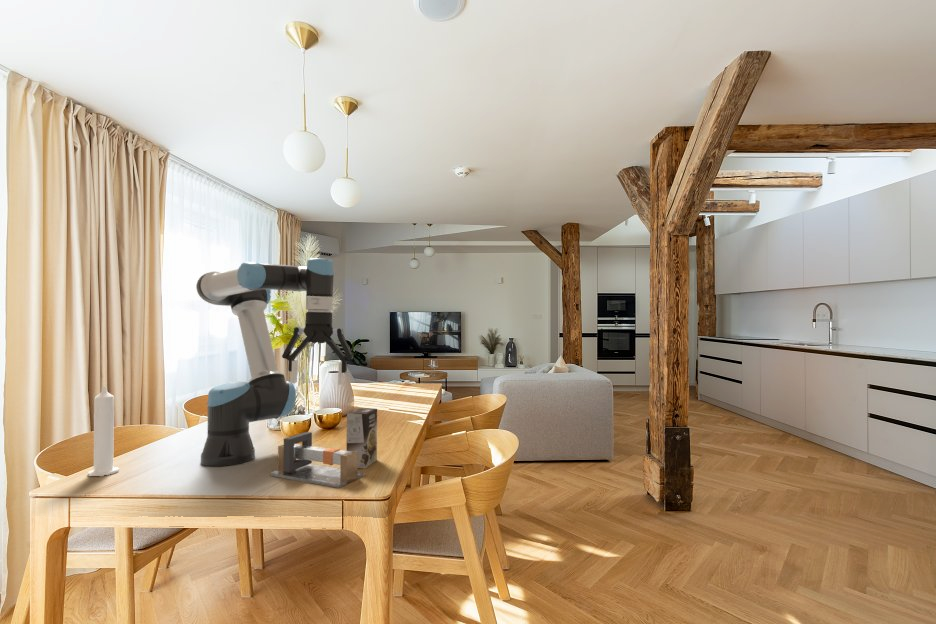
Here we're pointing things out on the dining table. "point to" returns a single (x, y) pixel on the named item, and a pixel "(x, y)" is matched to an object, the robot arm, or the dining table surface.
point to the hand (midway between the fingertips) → (317, 383)
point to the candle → (103, 434)
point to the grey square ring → (289, 451)
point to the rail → (321, 473)
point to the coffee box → (363, 435)
